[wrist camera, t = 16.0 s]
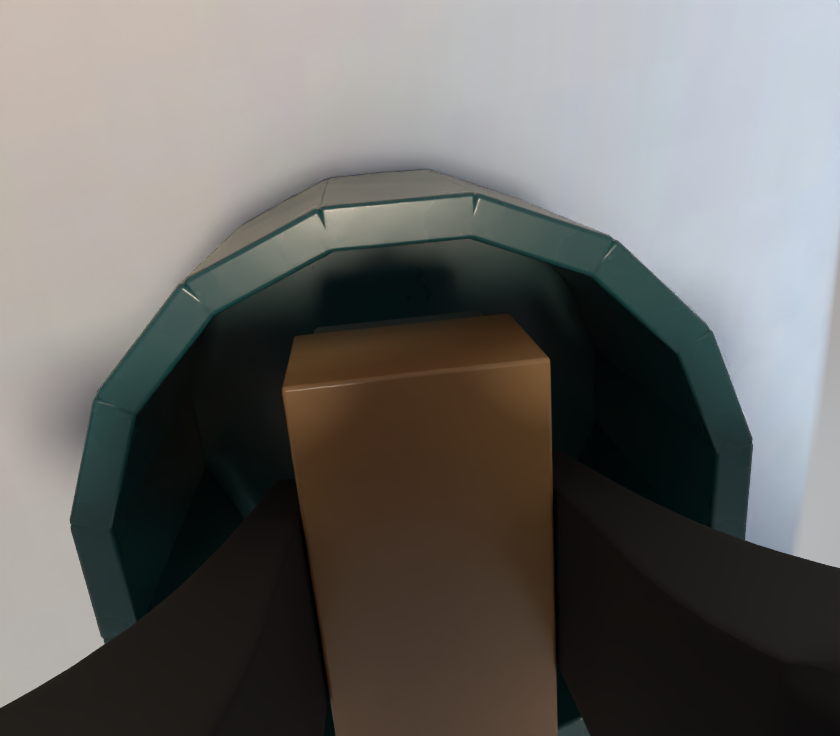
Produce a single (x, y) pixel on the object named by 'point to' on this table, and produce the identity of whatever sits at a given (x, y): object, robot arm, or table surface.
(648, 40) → the table surface
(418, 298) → the pot
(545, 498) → the tall bronze cuboid
